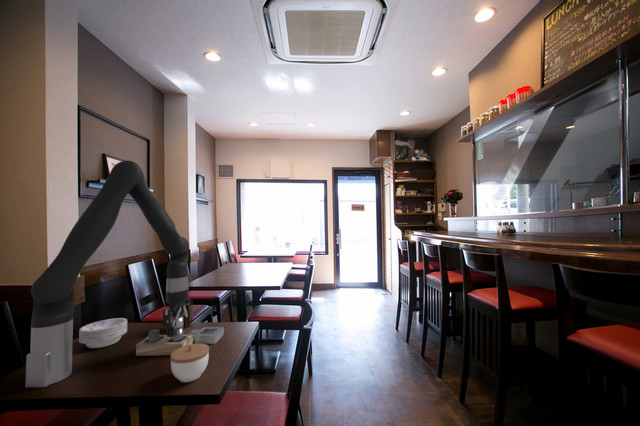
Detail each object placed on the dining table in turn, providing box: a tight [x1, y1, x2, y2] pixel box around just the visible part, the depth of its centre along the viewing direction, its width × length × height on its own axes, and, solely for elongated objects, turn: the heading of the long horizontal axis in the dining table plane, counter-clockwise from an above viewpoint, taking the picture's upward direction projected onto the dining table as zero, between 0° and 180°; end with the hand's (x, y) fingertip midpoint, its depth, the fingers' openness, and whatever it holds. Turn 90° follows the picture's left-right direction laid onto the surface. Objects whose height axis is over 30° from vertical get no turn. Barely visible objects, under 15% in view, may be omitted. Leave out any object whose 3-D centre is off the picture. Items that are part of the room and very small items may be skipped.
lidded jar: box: [170, 344, 210, 383], centre depth 81 cm, size 11×11×9 cm
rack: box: [135, 329, 193, 357], centre depth 99 cm, size 8×17×7 cm, turn 89°
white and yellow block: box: [183, 329, 200, 335], centre depth 108 cm, size 4×8×3 cm, turn 89°
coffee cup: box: [183, 297, 194, 330], centre depth 120 cm, size 9×8×13 cm
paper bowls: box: [78, 317, 128, 349], centre depth 107 cm, size 15×15×8 cm
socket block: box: [193, 326, 225, 345], centre depth 107 cm, size 9×9×3 cm
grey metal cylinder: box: [171, 316, 183, 342], centre depth 99 cm, size 4×4×12 cm
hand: (177, 331), depth 99 cm, fingers open, 8 cm apart
